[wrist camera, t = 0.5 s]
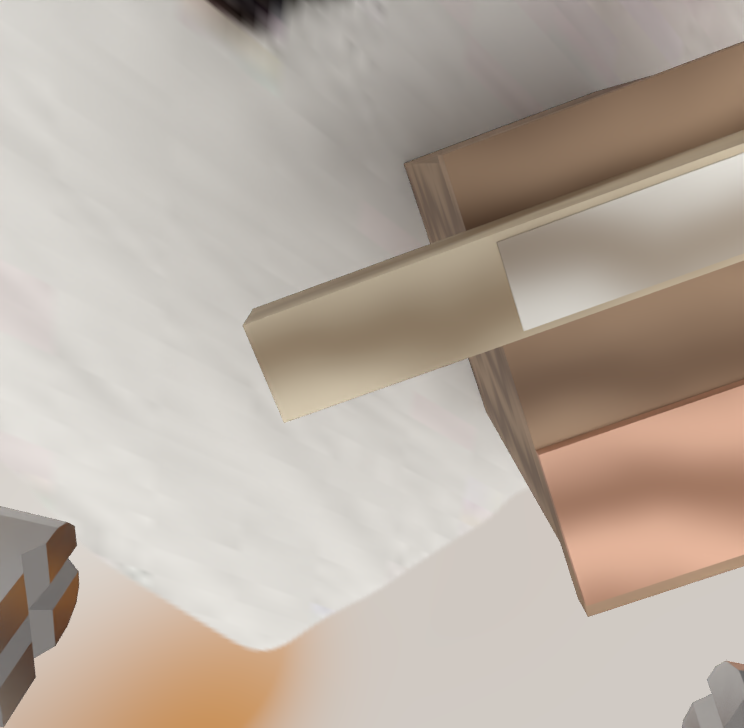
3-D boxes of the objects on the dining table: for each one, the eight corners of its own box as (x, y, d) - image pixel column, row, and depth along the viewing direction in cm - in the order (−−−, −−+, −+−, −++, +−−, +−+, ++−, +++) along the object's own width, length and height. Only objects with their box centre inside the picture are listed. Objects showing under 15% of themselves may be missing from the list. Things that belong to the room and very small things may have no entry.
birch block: (253, 308, 28) (241, 326, 25) (840, 94, 26) (904, 85, 23) (290, 397, 29) (283, 424, 26) (855, 196, 27) (919, 199, 24)
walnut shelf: (395, 159, 51) (444, 155, 26) (602, 81, 50) (864, -2, 25) (482, 419, 57) (591, 623, 32) (668, 354, 56) (934, 512, 31)
